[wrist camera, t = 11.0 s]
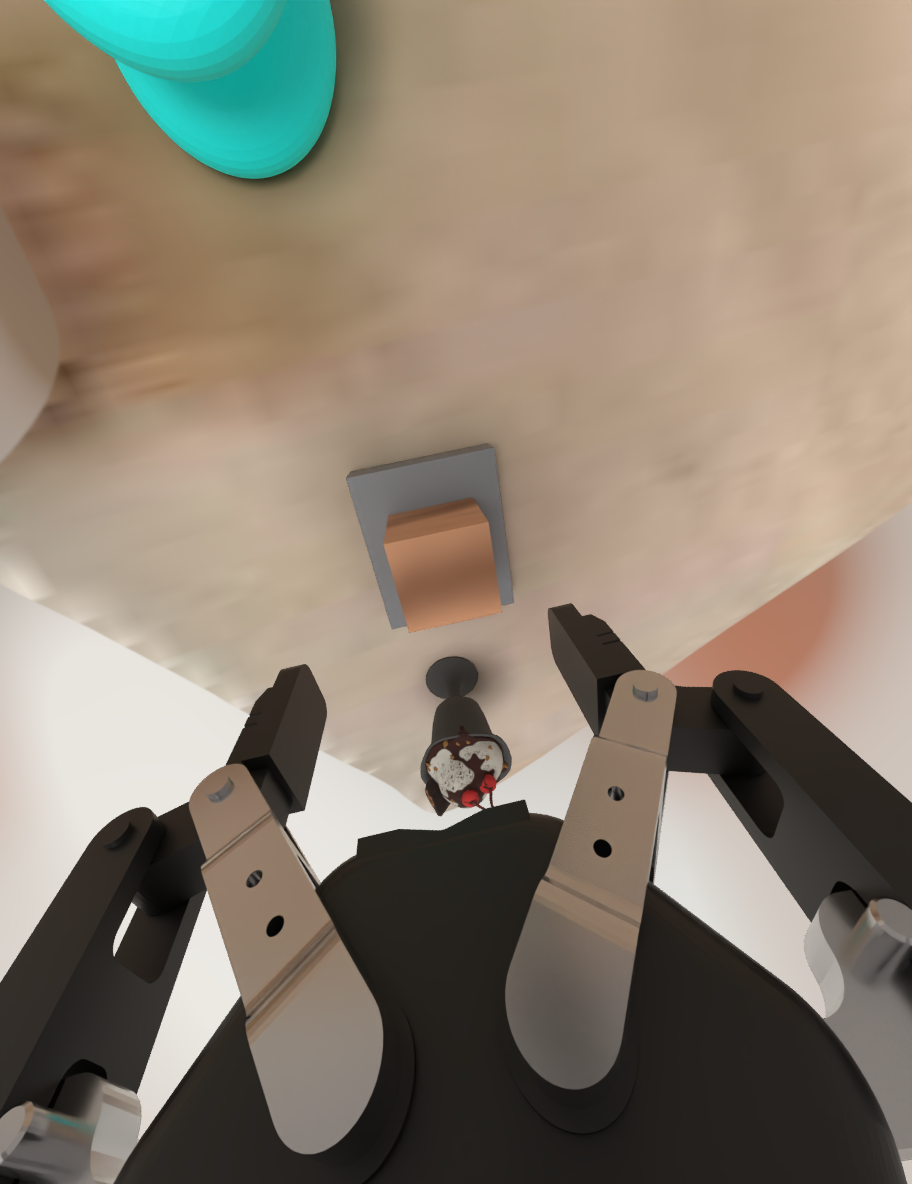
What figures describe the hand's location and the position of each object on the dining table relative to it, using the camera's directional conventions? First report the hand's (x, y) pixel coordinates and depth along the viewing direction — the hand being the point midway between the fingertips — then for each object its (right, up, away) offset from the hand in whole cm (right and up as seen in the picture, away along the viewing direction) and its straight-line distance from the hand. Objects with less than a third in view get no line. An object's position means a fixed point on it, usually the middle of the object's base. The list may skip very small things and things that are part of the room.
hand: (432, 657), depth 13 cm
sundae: (0, -6, +25) cm, 25 cm away
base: (-1, +7, +18) cm, 20 cm away
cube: (0, +6, +16) cm, 17 cm away
